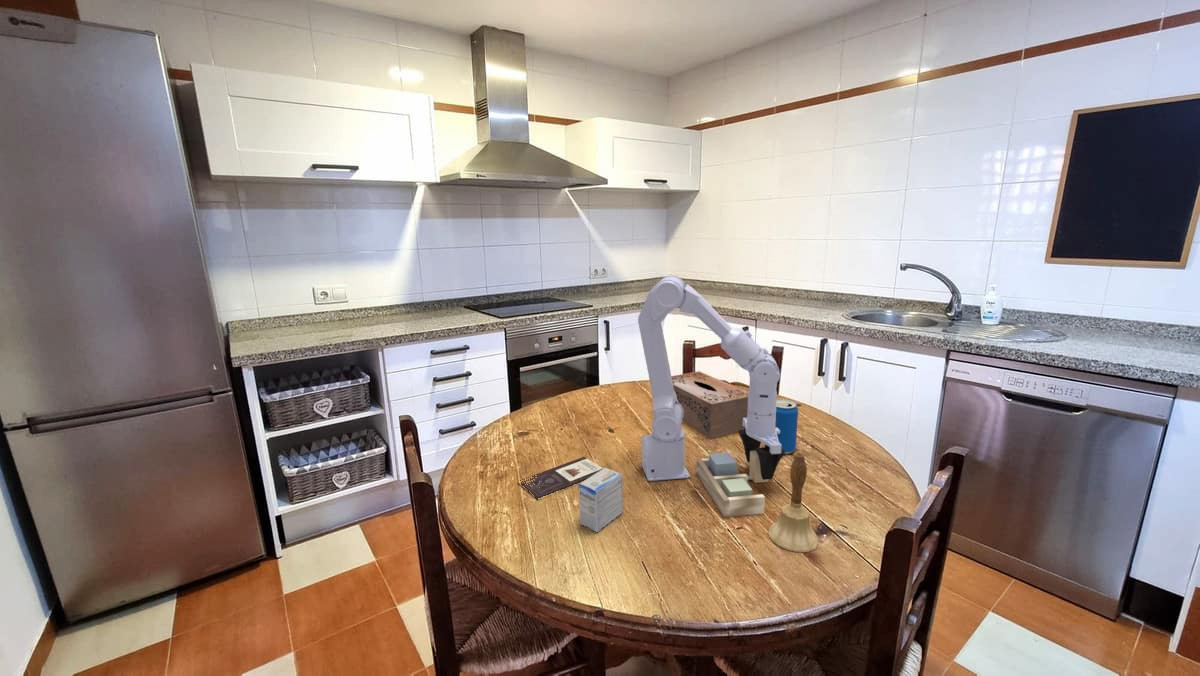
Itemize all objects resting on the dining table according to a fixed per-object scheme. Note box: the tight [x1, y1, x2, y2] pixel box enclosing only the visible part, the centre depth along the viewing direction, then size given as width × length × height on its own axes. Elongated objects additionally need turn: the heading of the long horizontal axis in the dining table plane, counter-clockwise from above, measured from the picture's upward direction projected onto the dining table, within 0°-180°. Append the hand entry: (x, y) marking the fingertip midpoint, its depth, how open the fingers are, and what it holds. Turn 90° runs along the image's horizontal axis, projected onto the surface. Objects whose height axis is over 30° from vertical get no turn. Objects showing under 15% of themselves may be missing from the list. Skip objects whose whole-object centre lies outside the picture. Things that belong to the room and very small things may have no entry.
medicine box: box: [578, 467, 624, 533], centre depth 89 cm, size 8×4×9 cm, turn 141°
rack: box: [696, 457, 766, 518], centre depth 98 cm, size 8×17×4 cm, turn 6°
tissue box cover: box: [671, 370, 748, 440], centre depth 136 cm, size 26×14×10 cm, turn 24°
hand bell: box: [767, 453, 820, 554], centre depth 81 cm, size 8×8×16 cm
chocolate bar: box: [520, 456, 604, 500], centre depth 106 cm, size 9×1×18 cm
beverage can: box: [775, 399, 799, 455], centre depth 115 cm, size 6×6×12 cm
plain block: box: [722, 478, 753, 497], centre depth 94 cm, size 4×4×4 cm
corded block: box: [708, 451, 769, 484], centre depth 102 cm, size 12×4×6 cm, turn 96°
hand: (759, 469), depth 102 cm, fingers open, 7 cm apart
